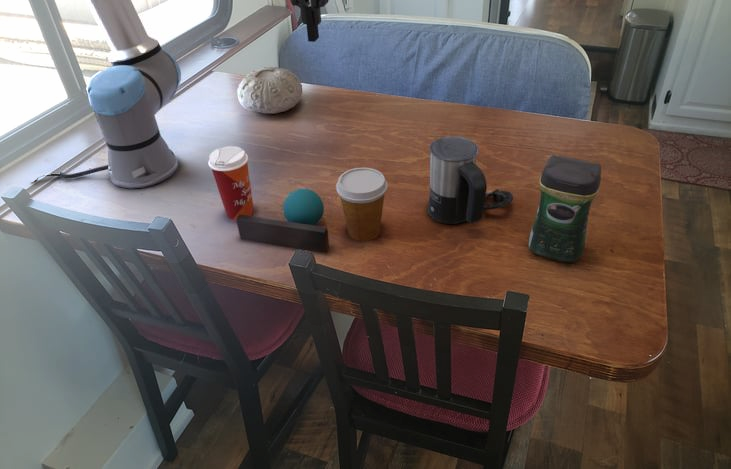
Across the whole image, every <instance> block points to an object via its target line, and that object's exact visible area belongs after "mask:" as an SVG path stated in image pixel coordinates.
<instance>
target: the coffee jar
mask: <svg viewBox="0 0 731 469" xmlns="http://www.w3.org/2000/svg"><path fill="white" fill-rule="evenodd" d="M601 176H602V165H601V164H600V163H596V162H593V161H589V160H583V159H578V158H573V157H568V156H563V155H562V156H561V155H555V154H552V155H551V156H550V157H549V158H548V159H547V161H546V163H545V164H544V167H543V170H542V173H541V175H540V177H539V182H538V183H539V190H540V197H539V203H538V208H537V212H536V214H535V218H534V221H533V224H532V227H531V230H530V234H529V240H528V248H529V250H530V252H532V253H533V254H534V255H537V256H539V257H541V258H545V259H549V260H552V261H556V262H562V263H575V262H576V261H578V260H579V259H580V258H581V257H582V255H583V253H584V248H585V244H586V238H587V231H588V230H587V229H588V222H589V214H590V210H591V205H592V202H593V200H594V199H595V198H596V197H597V195H598V193H599V191H600V187H601Z"/></svg>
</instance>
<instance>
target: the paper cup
mask: <svg viewBox="0 0 731 469" xmlns="http://www.w3.org/2000/svg"><path fill="white" fill-rule="evenodd" d="M248 161H249V155H248V154H247V153H246V151H245V150H244V149H243V148H241V147H239V146H231V145H230V146H223V147H220V148H217V149H215V150H213V151H212V152H211V153H210V155H209V158H208V162H207V164H208V167H209V168H210V169H211V172H212V175H213V178H214V181H215V184H216V187H217V190H218V193H219V196H220V199H221V202H222V206H223V208H224V211H225V214H226V216H227V218H228V219H229V220H230V221H235V222H236V218H237V217H238V216H239V214H241V215H247V216H253V214H254V210H255V209H254V201H253V194H252V187H251V180H250V173H249V164H248Z"/></svg>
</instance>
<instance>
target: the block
mask: <svg viewBox="0 0 731 469" xmlns="http://www.w3.org/2000/svg"><path fill="white" fill-rule="evenodd" d="M235 222H236V226H237V230H238V235H239V239H240V240H242V241H243V240H244V241H248V242H249V241H250V242H255V243H261V244H267V245H274V246H280V247H285V248H286V247H287V248H292V249H298V250H304V251H305V250H306V251H311V252H316V253H324V254H327V253H328V251H329V250H330V242H329V232H328V231H329V230H328V227H327V226H321V225H315V226H314V225H308V224H301V223H294V222H288V221H287V220H281V219H273V218H267V217H260V216H254V215H252V216H247V215H241V214H239V216H238V217H237V218H236V221H235Z"/></svg>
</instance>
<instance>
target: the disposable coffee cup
mask: <svg viewBox="0 0 731 469" xmlns="http://www.w3.org/2000/svg"><path fill="white" fill-rule="evenodd" d="M387 189H388V182H387V180H386V178H385V176H384V174H383V173H382V172H381V171H379V170H377V169H375V168H371V167H354V168H351V169H348V170H346V171H344V172H343V173H341V175H340V176H338V180H337V182H336V184H335V190H336V192H337V194H338V196H339V198H340V203H341V207H342V211H343V216H344V220H345V224H346V229H347V233H348V235H349V236H350V238H352V239H354V240H356V241H361V242H363V241H364V242H367V241H371V240H374V239H376V238H377V237H378V236H379V235H380V233H381V226H382V225H381V224H382V218H383V208H384V203H385V202H384V201H385V194H386V192H387Z"/></svg>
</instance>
